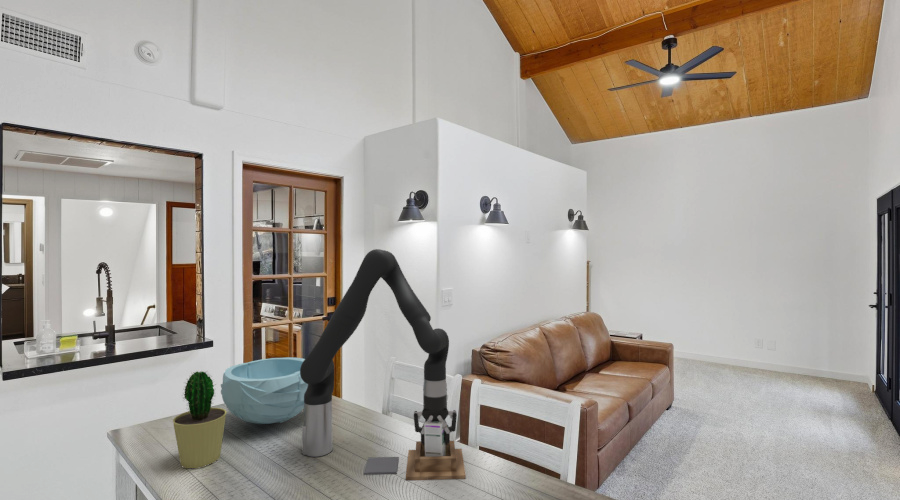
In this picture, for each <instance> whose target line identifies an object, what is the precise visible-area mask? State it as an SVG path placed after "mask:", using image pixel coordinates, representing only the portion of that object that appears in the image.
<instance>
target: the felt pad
mask: <svg viewBox="0 0 900 500" xmlns="http://www.w3.org/2000/svg"><path fill="white" fill-rule="evenodd" d="M399 460H400V457H399V456H383V457H382V456H378V457H376V456H375V457H372V456H371V457H370V456H369V457H368V458H367V461H366V465H365V468H364V471H363V475H397V473H398V467H399V462H400V461H399Z"/></svg>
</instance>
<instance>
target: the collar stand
mask: <svg viewBox="0 0 900 500" xmlns="http://www.w3.org/2000/svg"><path fill="white" fill-rule="evenodd" d="M455 447H456V446H455V440H450V442H449V443H448V445H446V456H433V457H425V445H423V444H421V440H420V441H419V440H418V441H415V449H408V452H407V462H406V472H405V481H427V480H429V481H430V480H431V481H432V480H433V481H434V480H435V481H436V480H466V476H467V475H466V469H465V462H464V457H463V456H464V455H463V450H462V448H455Z"/></svg>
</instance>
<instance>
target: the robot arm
mask: <svg viewBox="0 0 900 500" xmlns="http://www.w3.org/2000/svg"><path fill="white" fill-rule="evenodd" d="M380 279H382V280H383V281H384V282H385V283H386V284H387V285H388V287H389V288H390V289H391V291H392V293H393V295H394V297H395V300H396V303H397V305H398V308H399V310H400V312H401V314H402V315H403V317H404V318H405V320H406V321H407V322H408V324H409V325H410V327H411V329H412V331H413V334H414V336H415V339H416V340H417V341H416V342H417V343H418V346H419V347H420V348H421V350H422V351H424V353H426V354H428V356H427V359H426V360H424V361H425V362H424V364H423V385H422V386H423V387H422V388H423V389H422V390H423V391H422V392H423V394H422V395H423V396H422V397H423V400H422V401H423V405H422V406H423V408H422V410H421V411H417V410H415V411H414V412H413V421H414V423H413V424H414V431H415V432H416V433H419V434H420V441H421V444H423V445H425V438H424V423H425V422H426V423H429V422H431V421H440V422H442V424H443V428H444V429H445V445H448V443H449V442H450V441H451V439H450V437H451V436H450V435H451V433H452V432H453V433H454V432H456V429H457V427H456V426H457V417H458V415H457V410H456V409H454V410H451V411H450V410H449V409H448V393H447V392H448V384H447V365H446V364H447V359H448V355H449V348H450V339H449V336H448V333H447V332H446V330H444V329H443V328H434V329H433V327H432V324H431V323H430V322H431V319H432V317H431V315H430V313H429V312H428V310H427V309H426V307H425V306H424V304H423V303H422V302H421V300H420V299H419V298H418V296H417V295H416V293H415V291H414V290H413V289H412V287H411V285H410V283H409V282H408V280H407V278H406V276H405V275H404V273H403V271H402V269H401V266H400V264H399V262H398V261H397V257H395V255H394V254H393V253H392V252H390V251H388V250H383V249H381V248H380V249H379V248H378V249H377V248H374V249H372V250H370V251H368V252H367V253H366V254H365V256H364V258H363V259H362V262H361V264H360V265H359V268H358V270H357V272H356V274H355V276H354V278H353V280H352V282H351V283H350V286H349V287H348V288H347V290H346V292H345V294H344V296H343V297H342V299H341V300H340V302H339V304H338V305H337V307H336V309H335V310H334V312H333V313H332V315H331V317H330V319H329V320H328V323H327V324H326V326H325V327H324V330H323V332H322V334H321V336H320V337H319V340H318V341H317V343H316V344H315V345H314V347H313V348H312V349H311V351H310V352H309V353H308V355H307V356H306V357H305V358H304V359H305V360H304V361H303V363H302V365H301V368H300V376H301V378H302V380H303V381H304V382H305V383H307V384H308V387H307V390H306V392H305V394H304V408H303V422H304V423H303V425H302V430H301V431H302V434H301V437H302V455H303V456H307V457H315V458H317V457H322V456H325V455H328V454H330V453H331V452H332V451H333V393H334V391H335V390H334V389H335V388H334V387H335V363H334V357H335V356H336V354H337V353H338V352H339V350H340V349H341V348H342V347H343V346H344V345H345V343H347V341H348V340H349V339H350V338H351V336H352V335H353V334H354V333H355V332H356V330H357V328H358V326H359V325H360V323H361V322H362V321H363V318H364V316H365V315H366V311H367V307H368V303H369V298H370V295H371V293H372V291H373V289H374V288H375V286H376V284H378V282H379V280H380ZM448 416H449V417H450V419H451V425H450V426H449V424H448V422H447V420H446V419H447V418H448ZM421 417H423V418H424V421H423V424H422V426H420V422H419V420H420V419H421ZM444 420H445V422H444Z"/></svg>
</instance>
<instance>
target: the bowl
mask: <svg viewBox="0 0 900 500" xmlns="http://www.w3.org/2000/svg"><path fill="white" fill-rule="evenodd" d="M305 359H306V358H302V357H291V356H290V357H270V358H263V359H258V360H257V359H256V360H253V361H248V362H243V363H238V364H235V365H232V366H230V367H227V368H226V369H225V371H224V372H223V375H222V383H221V384H220V388H221V389H220V394H221V397H222V400H223V403H224V405H225V406H226V408H227V410H228V411H229V412H230V413H231V414H233V415H234V416H235V417H237V418H238V419H241V420H242V421H244V422H246V423H251V424H256V425H265V424H266V425H269V424H277V423H281V424H282V423H284V422H287V421H288V420H290V419H292V418H293V417H296V416H297V415H298V414H300V413H301V412H302V411H304V394H305V392H306V390H307V387H308V384H307V383H305V382H304V381H303V380H302V378H301V376H300V368H301V365H302V363H303V361H304V360H305Z"/></svg>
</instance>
